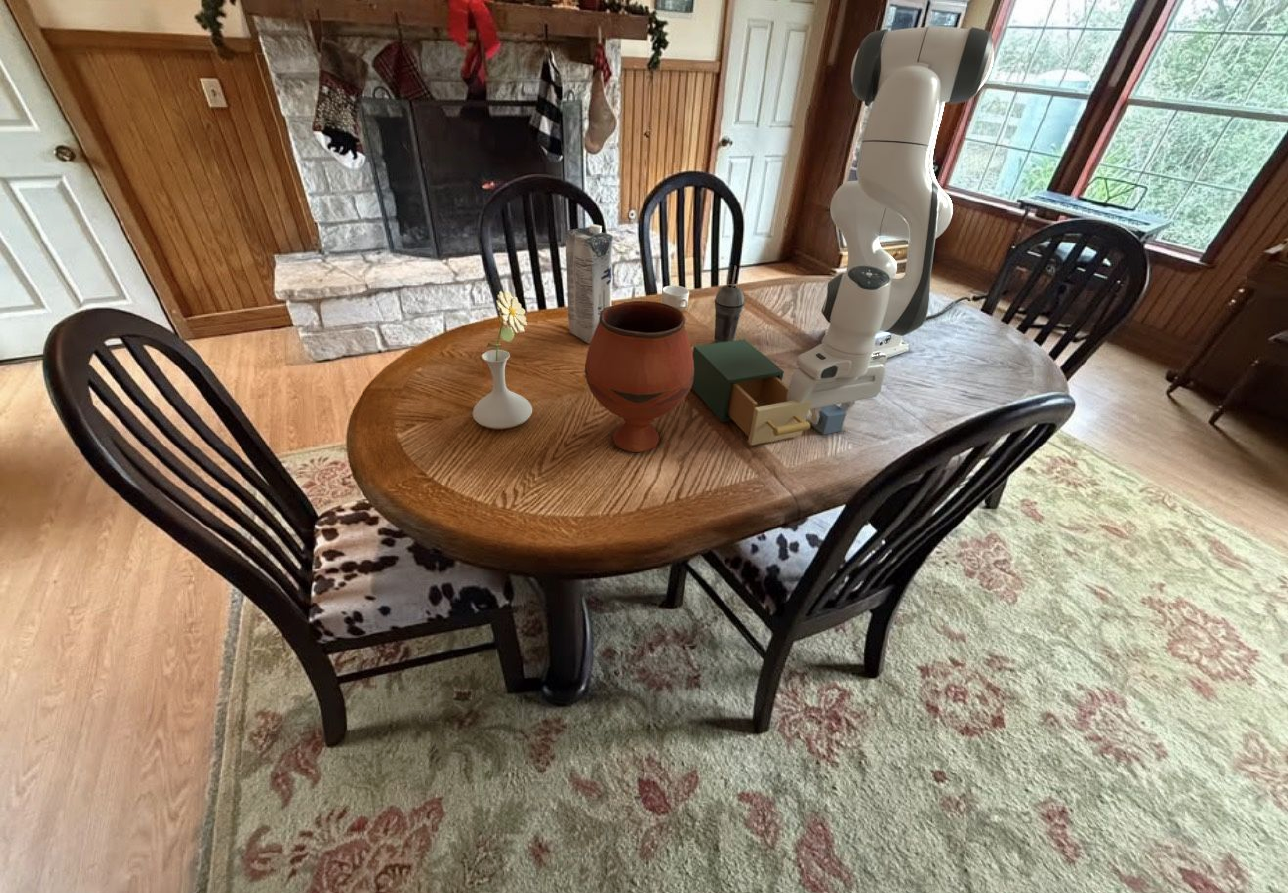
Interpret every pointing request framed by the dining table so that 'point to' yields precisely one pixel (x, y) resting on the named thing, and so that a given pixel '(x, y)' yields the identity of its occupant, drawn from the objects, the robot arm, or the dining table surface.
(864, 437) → the dining table surface
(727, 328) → the beverage cup
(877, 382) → the robot arm
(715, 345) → the cabinet
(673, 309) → the goblet
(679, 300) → the teacup
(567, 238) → the juice carton
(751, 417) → the drawer
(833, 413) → the block
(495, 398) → the flower in vase
